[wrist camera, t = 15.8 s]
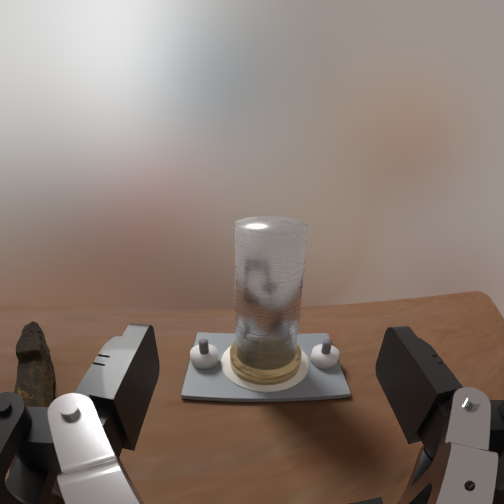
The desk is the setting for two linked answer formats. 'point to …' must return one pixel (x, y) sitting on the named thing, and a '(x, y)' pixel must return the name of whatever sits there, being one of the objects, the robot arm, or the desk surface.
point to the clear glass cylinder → (268, 298)
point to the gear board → (237, 390)
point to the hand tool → (35, 380)
